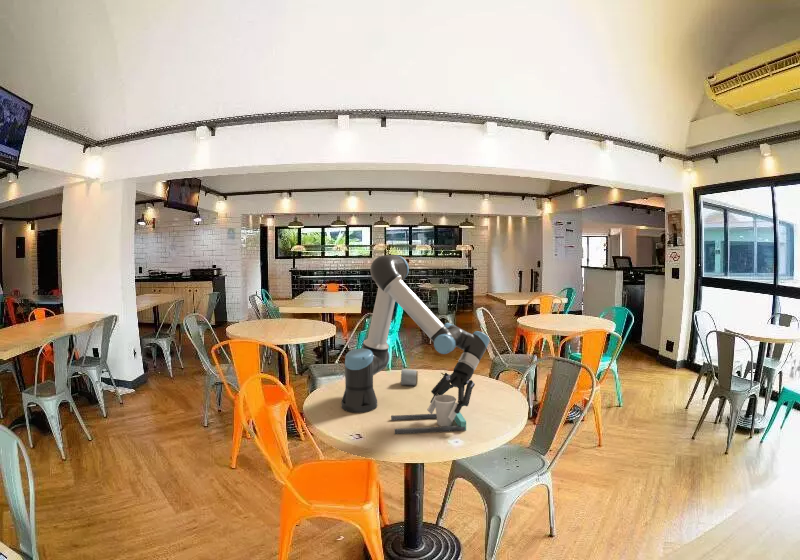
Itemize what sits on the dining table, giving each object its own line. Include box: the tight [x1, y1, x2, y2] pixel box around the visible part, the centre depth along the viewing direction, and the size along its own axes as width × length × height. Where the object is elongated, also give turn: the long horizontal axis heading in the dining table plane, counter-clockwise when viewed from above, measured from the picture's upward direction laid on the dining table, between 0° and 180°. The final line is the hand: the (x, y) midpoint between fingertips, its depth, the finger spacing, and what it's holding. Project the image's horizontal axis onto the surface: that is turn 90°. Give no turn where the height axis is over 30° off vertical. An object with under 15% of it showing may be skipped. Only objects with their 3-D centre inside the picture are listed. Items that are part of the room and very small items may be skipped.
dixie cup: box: [434, 394, 457, 427], centre depth 168 cm, size 8×8×10 cm
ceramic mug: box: [400, 368, 419, 386], centre depth 215 cm, size 11×8×8 cm
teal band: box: [453, 411, 467, 432], centre depth 168 cm, size 2×13×4 cm, turn 7°
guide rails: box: [390, 413, 465, 435], centre depth 167 cm, size 26×13×2 cm, turn 97°
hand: (439, 415), depth 165 cm, fingers open, 9 cm apart
